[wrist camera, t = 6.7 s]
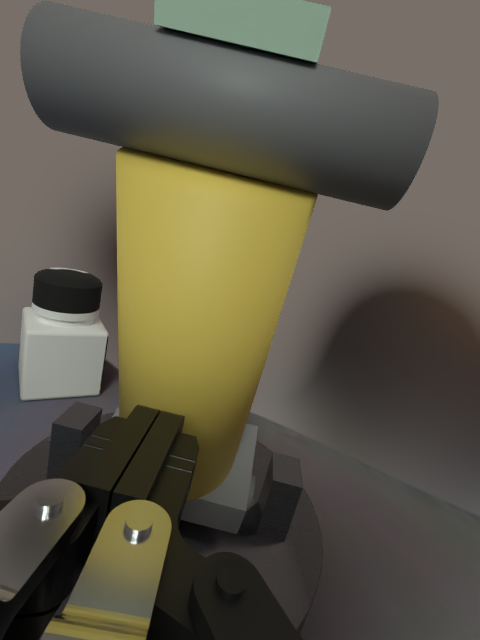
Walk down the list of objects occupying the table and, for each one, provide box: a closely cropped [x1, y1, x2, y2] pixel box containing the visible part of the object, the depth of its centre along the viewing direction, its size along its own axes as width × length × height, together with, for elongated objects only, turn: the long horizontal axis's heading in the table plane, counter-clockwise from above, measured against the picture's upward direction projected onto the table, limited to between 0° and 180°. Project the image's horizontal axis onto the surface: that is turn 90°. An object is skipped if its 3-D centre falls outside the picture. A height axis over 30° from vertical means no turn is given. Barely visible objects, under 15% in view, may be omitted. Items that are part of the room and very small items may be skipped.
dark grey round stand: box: [0, 402, 323, 634], centre depth 21 cm, size 18×18×8 cm
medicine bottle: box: [18, 268, 109, 401], centre depth 36 cm, size 7×7×12 cm
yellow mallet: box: [20, 0, 438, 534], centre depth 15 cm, size 10×6×22 cm, turn 85°
